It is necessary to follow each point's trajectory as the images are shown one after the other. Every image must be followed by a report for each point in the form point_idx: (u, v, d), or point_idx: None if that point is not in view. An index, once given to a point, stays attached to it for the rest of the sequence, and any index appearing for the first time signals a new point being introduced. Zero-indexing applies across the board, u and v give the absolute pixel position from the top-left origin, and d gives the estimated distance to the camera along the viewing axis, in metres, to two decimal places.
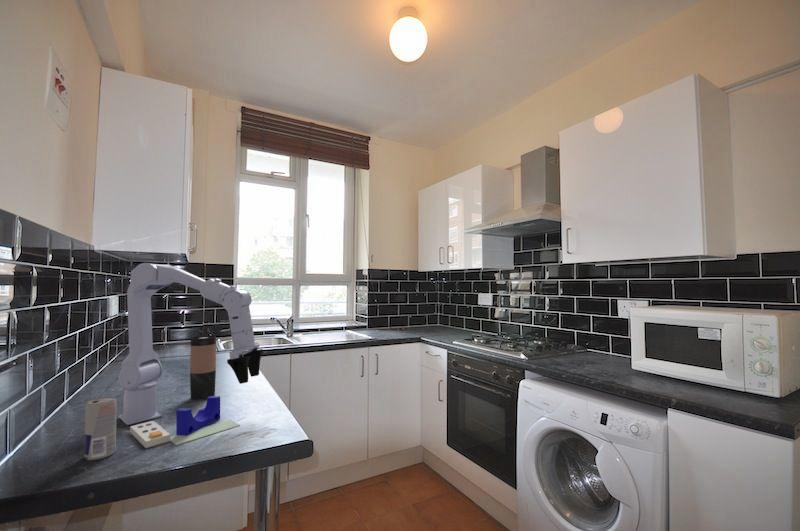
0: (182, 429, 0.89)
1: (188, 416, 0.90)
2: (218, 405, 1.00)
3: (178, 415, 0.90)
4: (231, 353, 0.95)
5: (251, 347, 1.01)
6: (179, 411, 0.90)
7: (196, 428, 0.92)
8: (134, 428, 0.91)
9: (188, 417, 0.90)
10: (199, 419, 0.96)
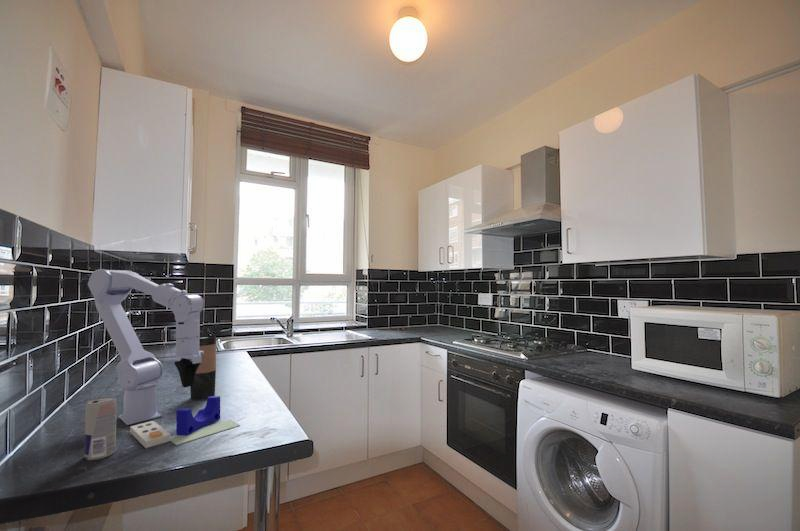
0: (182, 429, 0.89)
1: (188, 416, 0.90)
2: (218, 405, 1.00)
3: (178, 415, 0.90)
4: (195, 357, 0.96)
5: (200, 353, 1.02)
6: (179, 411, 0.90)
7: (196, 428, 0.92)
8: (134, 428, 0.91)
9: (188, 417, 0.90)
10: (199, 419, 0.96)
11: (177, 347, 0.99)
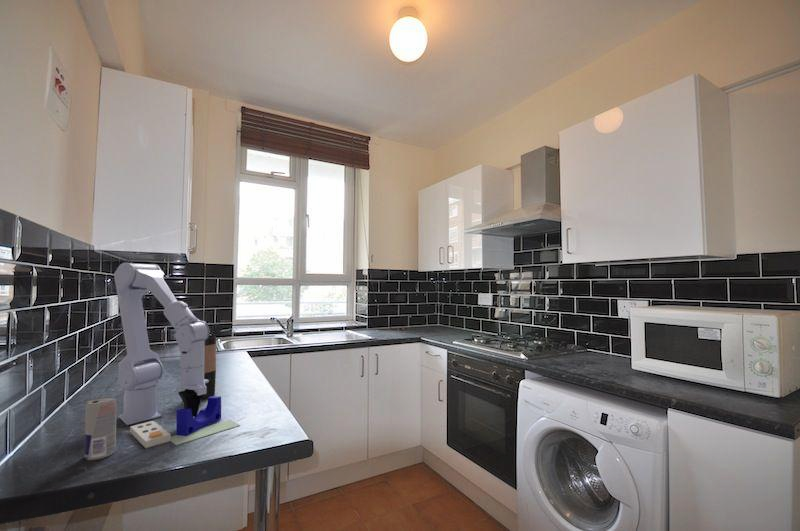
0: (182, 429, 0.89)
1: (188, 416, 0.89)
2: (218, 405, 1.00)
3: (178, 415, 0.89)
4: (200, 389, 0.93)
5: (204, 382, 0.99)
6: (179, 411, 0.89)
7: (196, 428, 0.92)
8: (134, 428, 0.91)
9: (188, 417, 0.89)
10: (200, 419, 0.95)
11: (181, 377, 0.96)
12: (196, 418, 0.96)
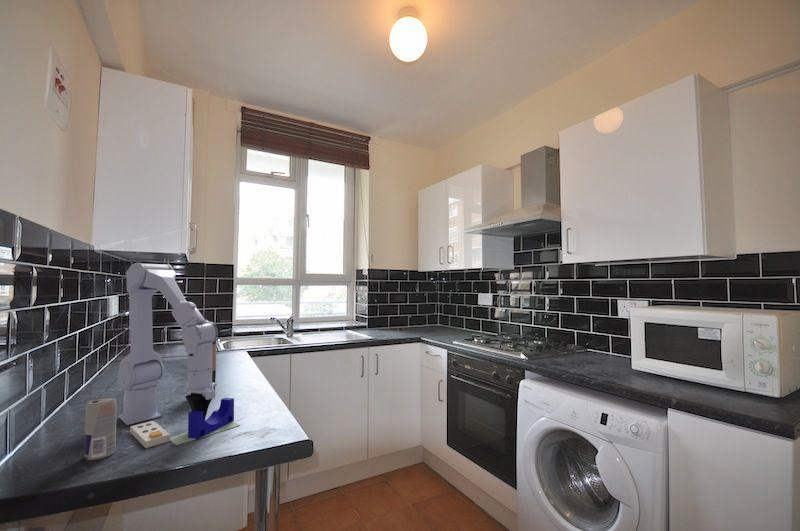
0: (193, 432, 0.87)
1: (199, 419, 0.88)
2: (231, 407, 0.98)
3: (190, 418, 0.88)
4: (209, 393, 0.89)
5: (212, 386, 0.95)
6: (191, 414, 0.88)
7: (208, 431, 0.90)
8: (134, 428, 0.91)
9: (199, 420, 0.87)
10: (212, 421, 0.94)
11: (189, 381, 0.92)
12: (208, 420, 0.94)
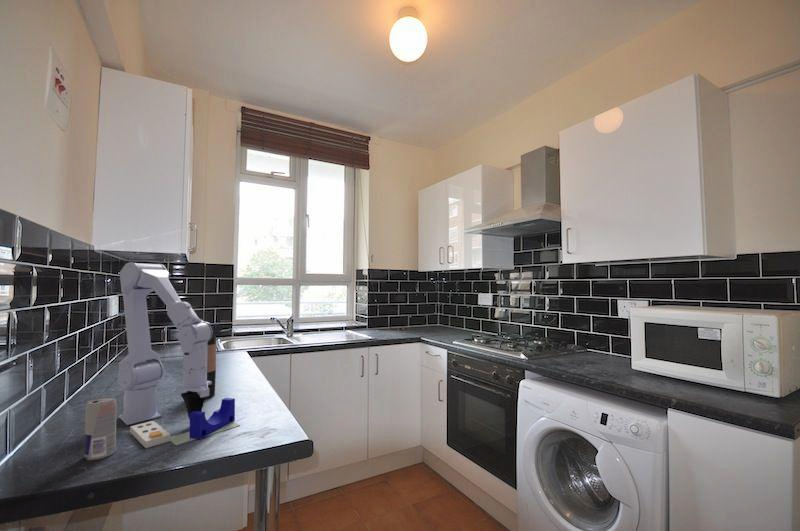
0: (195, 432, 0.87)
1: (201, 419, 0.87)
2: (232, 407, 0.97)
3: (191, 418, 0.87)
4: (203, 391, 0.92)
5: (207, 384, 0.98)
6: (192, 414, 0.87)
7: (209, 431, 0.90)
8: (134, 428, 0.91)
9: (201, 420, 0.87)
10: (213, 422, 0.93)
11: (184, 379, 0.94)
12: (209, 420, 0.94)
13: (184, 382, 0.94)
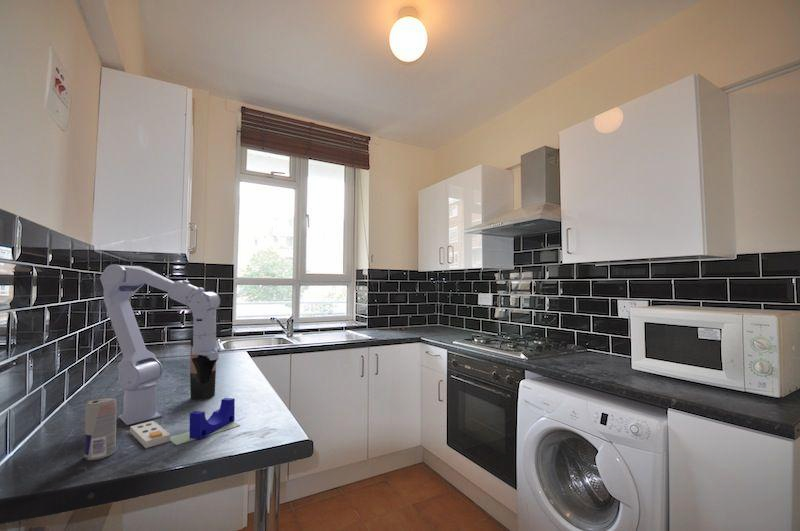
0: (195, 432, 0.87)
1: (201, 419, 0.87)
2: (232, 407, 0.97)
3: (191, 418, 0.87)
4: (212, 354, 0.97)
5: (216, 350, 1.03)
6: (192, 414, 0.87)
7: (209, 431, 0.90)
8: (134, 428, 0.91)
9: (201, 420, 0.87)
10: (213, 422, 0.93)
11: (194, 344, 0.99)
12: (209, 420, 0.94)
13: (194, 347, 0.99)
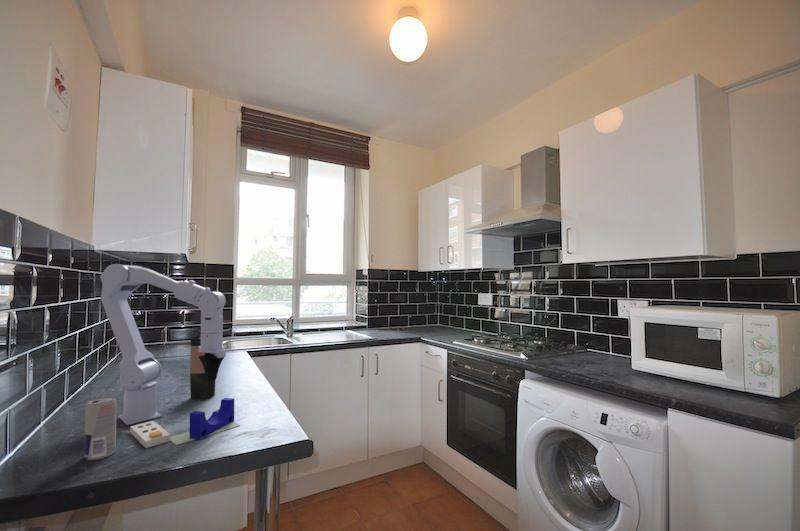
0: (195, 432, 0.87)
1: (201, 419, 0.87)
2: (232, 407, 0.97)
3: (191, 418, 0.87)
4: (220, 352, 1.00)
5: (223, 348, 1.06)
6: (192, 414, 0.87)
7: (209, 432, 0.90)
8: (134, 428, 0.91)
9: (201, 421, 0.87)
10: (213, 422, 0.93)
11: (202, 342, 1.03)
12: (209, 420, 0.94)
13: (202, 345, 1.02)
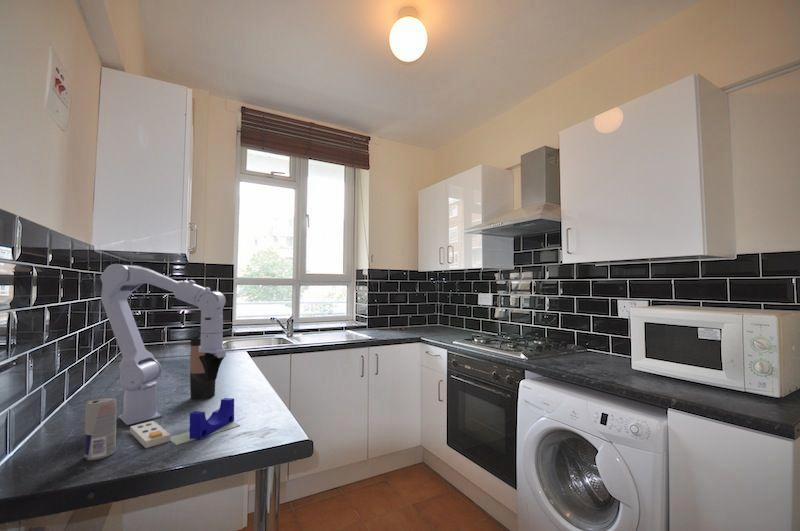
0: (195, 432, 0.87)
1: (201, 420, 0.87)
2: (231, 407, 0.97)
3: (191, 418, 0.87)
4: (220, 352, 1.00)
5: (223, 348, 1.06)
6: (192, 414, 0.87)
7: (209, 432, 0.90)
8: (134, 428, 0.91)
9: (201, 421, 0.87)
10: (213, 422, 0.93)
11: (202, 342, 1.03)
12: (209, 420, 0.94)
13: (202, 345, 1.02)
